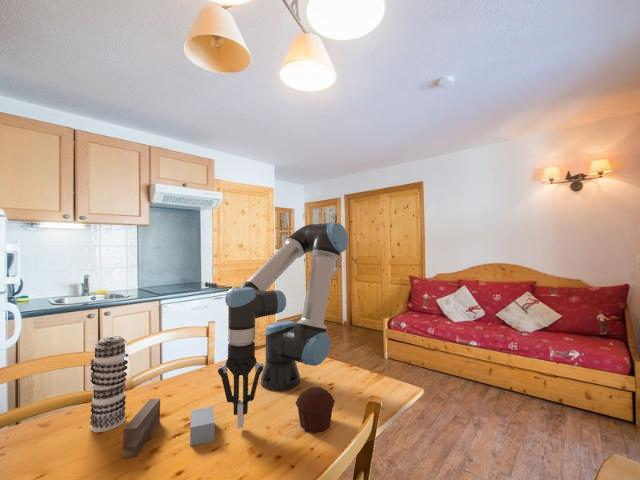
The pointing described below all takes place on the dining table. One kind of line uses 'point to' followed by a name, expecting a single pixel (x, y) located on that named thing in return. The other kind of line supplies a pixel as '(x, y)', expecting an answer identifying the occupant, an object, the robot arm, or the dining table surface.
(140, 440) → the board
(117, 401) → the decorative candle
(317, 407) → the muffin
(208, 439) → the slate block
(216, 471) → the dining table surface
